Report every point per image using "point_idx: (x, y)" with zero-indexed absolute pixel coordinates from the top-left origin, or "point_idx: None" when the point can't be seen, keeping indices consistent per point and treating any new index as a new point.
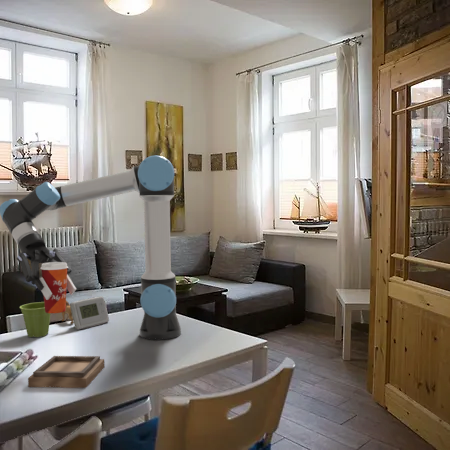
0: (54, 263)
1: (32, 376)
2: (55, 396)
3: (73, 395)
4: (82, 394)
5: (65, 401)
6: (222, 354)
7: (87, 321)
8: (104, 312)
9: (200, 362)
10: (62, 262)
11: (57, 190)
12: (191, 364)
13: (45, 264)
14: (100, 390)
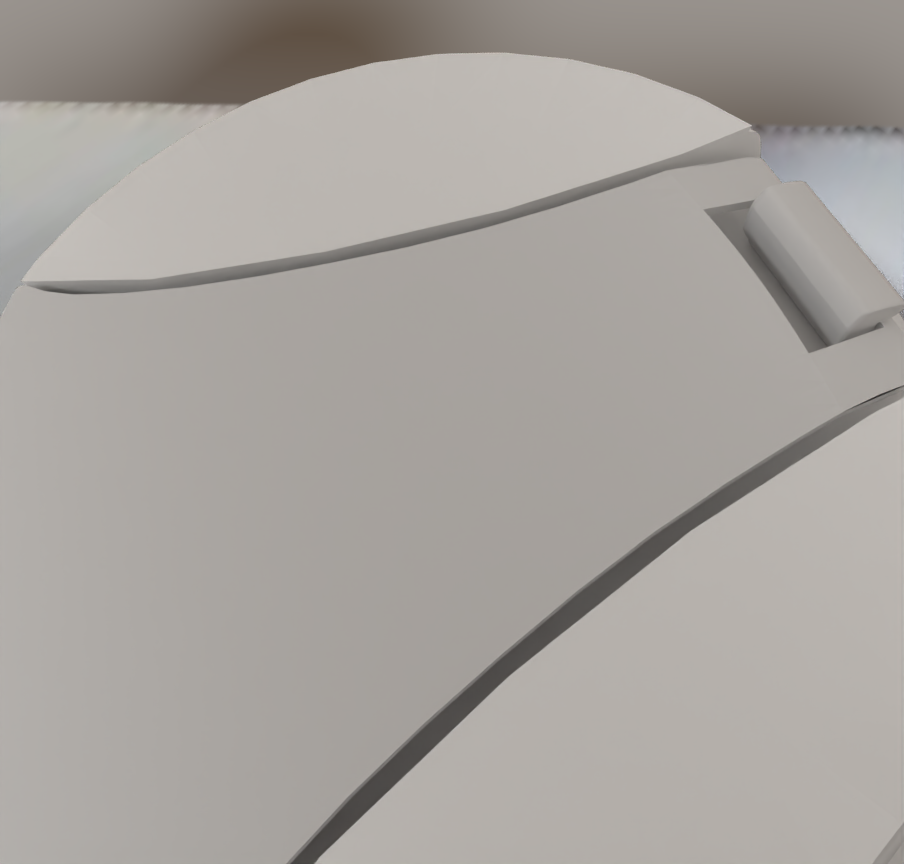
0: (402, 413)
1: None
2: (894, 231)
3: (818, 184)
4: (778, 166)
5: (885, 154)
6: (18, 109)
7: None
8: None
9: (156, 103)
10: (22, 430)
11: None
12: (197, 112)
13: (866, 447)
14: None
